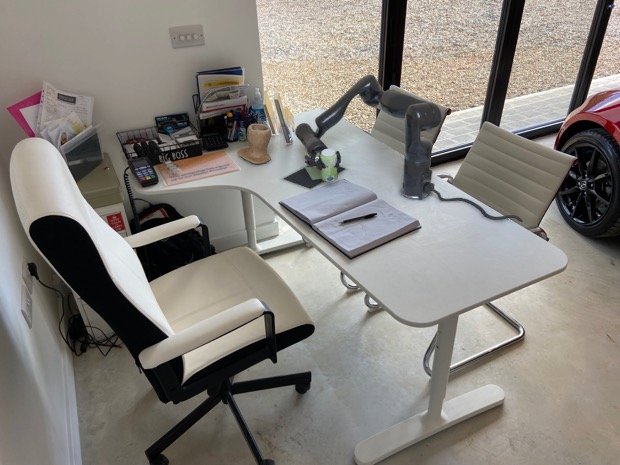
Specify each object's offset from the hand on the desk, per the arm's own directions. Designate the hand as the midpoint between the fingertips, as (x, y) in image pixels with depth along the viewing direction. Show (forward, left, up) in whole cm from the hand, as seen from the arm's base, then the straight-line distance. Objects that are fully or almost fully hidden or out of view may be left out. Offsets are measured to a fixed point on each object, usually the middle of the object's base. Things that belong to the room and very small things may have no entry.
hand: (329, 166), depth 179 cm
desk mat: (+14, -9, -10) cm, 19 cm away
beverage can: (+2, -2, -7) cm, 7 cm away
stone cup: (+44, -6, -10) cm, 46 cm away
